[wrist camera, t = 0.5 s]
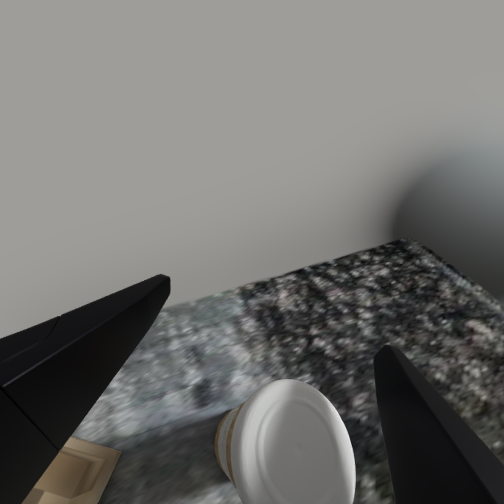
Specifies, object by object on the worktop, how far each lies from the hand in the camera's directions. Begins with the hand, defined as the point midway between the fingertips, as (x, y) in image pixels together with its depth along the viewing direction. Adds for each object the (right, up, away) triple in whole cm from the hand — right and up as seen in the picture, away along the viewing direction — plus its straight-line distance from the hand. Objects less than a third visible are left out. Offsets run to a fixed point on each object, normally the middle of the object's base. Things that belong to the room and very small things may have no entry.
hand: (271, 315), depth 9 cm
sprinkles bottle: (-2, -13, +9) cm, 16 cm away
